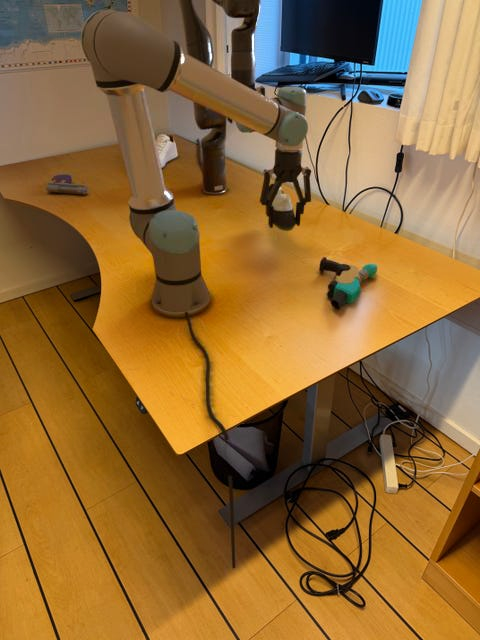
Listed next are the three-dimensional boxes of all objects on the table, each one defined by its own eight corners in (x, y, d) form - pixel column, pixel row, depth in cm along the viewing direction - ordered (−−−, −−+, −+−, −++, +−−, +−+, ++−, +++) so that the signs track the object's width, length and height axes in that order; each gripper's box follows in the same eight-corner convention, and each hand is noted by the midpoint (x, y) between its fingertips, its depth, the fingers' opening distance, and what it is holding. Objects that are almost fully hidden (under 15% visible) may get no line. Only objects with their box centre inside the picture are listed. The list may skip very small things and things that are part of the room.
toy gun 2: (296, 289, 121) (353, 304, 115) (329, 248, 140) (380, 259, 134) (295, 304, 124) (351, 319, 118) (328, 261, 142) (377, 273, 136)
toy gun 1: (101, 183, 198) (84, 197, 186) (60, 181, 201) (41, 194, 189) (99, 174, 195) (82, 188, 184) (58, 172, 199) (39, 185, 187)
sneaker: (133, 173, 208) (129, 144, 201) (161, 153, 230) (158, 127, 223) (155, 175, 205) (151, 146, 198) (180, 155, 227) (178, 129, 220)
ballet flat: (273, 233, 142) (275, 206, 137) (256, 202, 161) (257, 178, 156) (300, 231, 143) (302, 205, 138) (280, 201, 162) (281, 177, 157)
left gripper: (319, 143, 137) (312, 217, 150) (249, 146, 134) (248, 222, 147) (328, 150, 131) (320, 227, 144) (255, 154, 128) (253, 232, 141)
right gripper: (262, 64, 152) (261, 118, 161) (218, 66, 150) (220, 120, 159) (268, 68, 146) (267, 123, 155) (222, 70, 144) (224, 126, 153)
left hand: (284, 224), depth 145 cm, fingers closed on ballet flat, 8 cm apart
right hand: (243, 122), depth 157 cm, fingers open, 8 cm apart
